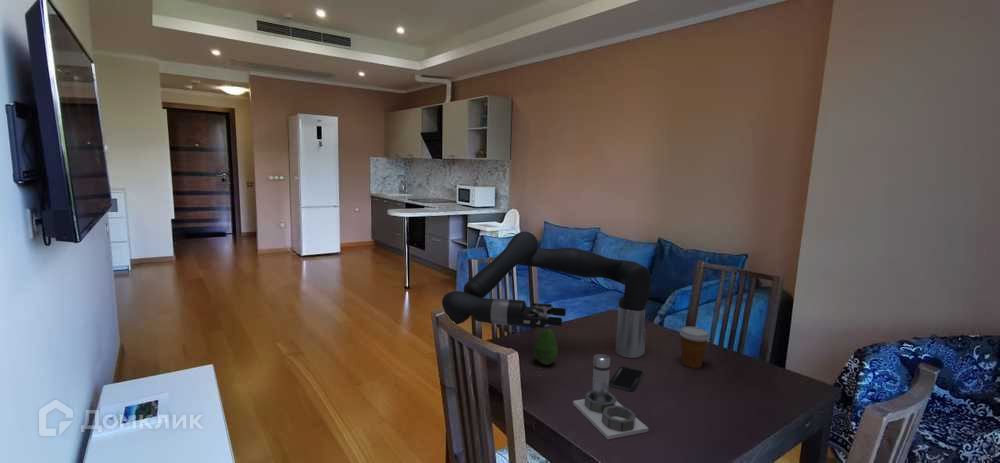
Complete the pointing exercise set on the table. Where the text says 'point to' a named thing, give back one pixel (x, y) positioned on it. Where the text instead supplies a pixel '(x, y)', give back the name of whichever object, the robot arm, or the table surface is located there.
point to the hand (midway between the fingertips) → (563, 316)
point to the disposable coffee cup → (693, 345)
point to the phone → (626, 379)
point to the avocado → (546, 347)
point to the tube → (601, 378)
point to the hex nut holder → (610, 417)
